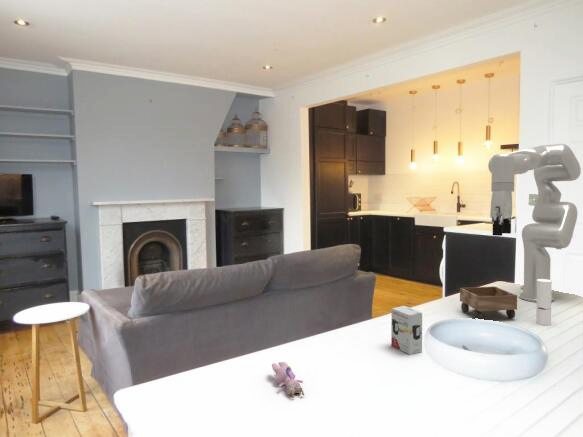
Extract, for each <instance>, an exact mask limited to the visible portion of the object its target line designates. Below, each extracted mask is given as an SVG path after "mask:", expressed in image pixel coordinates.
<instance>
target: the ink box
mask: <svg viewBox="0 0 583 437" xmlns="http://www.w3.org/2000/svg"><path fill="white" fill-rule="evenodd" d="M390 323H391V330H390V331H391V333H390V334H391V335H390V336H391V337H390V339H391V342H390V343H391V346H392V345H393V346H392V347H394V348H395V347H396V349H397V348H398V349H397V350H399V349H400V351H401V350H402V351H401V352H403V351H404V352H403V353H405V352H406V353H405V354H407V353H408V354H407V355H409V354H410V355H414V354H413V353H415V354H419V353H418V352H420V353H422V352H423V312H422V311H419V310H417V309H414V308H411V307H410V306H409V307H408V306H406V305H401V306H396V307H392V308H391V322H390Z"/></svg>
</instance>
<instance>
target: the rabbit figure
mask: <svg viewBox="0 0 583 437" xmlns="http://www.w3.org/2000/svg"><path fill="white" fill-rule="evenodd" d="M271 367H272V370H273V372H274V373H275V374H276V375H275V381H276V382H277V383H278V384H279V385H278V388H281V387H282V386H286V393H287V395H288V394H289V395H288V396H290V395H292V396H291V399H294V398H296V396H295V394H296V393H300V394H301V395H303V396H304V395H305V393H304V390H303V387H302V386H301V384H302V383H304V381H303V380H300V379H296V374H295V373H294V372H293V371H292V370H293V369H292V368H291V366H289V364H288V363H287V362H285V361H279V362H278V364H277V363H275V362H273V363H272V364H271Z"/></svg>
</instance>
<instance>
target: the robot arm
mask: <svg viewBox="0 0 583 437" xmlns="http://www.w3.org/2000/svg"><path fill="white" fill-rule="evenodd" d="M487 166H488V171H489V172H490V173H491V184H490V186H491V193H492V194H491V201H490V214H489V217H490V218H491V219H492V221H491V223H492V236H496V237H497V236H503V234H506V235H507V234H509V235H510V234H512V216H513V196H512V194H513V192H515V175H524V174H525V173H527V172H528V171H533V176H534V181H535V184H536V187H537V197H536V200H535V203H534V207H533V210H532V214H531V217H532V218H531V219H532V220H533V222H535V223H528V224H526V225H524V226H523V228H522V231H521V239H522V245H523V286H522V285H521V286H520V288H519V289H520V290H521V291H522V292H521V293H519V296H518V297H519V298H520V299H522V300H523V301H528V302H535V303H537V279H547V280H551V260H552V259H551V256H550V254H549V252H548V250H547V249H546V248H551V249H553V248H554V249H566V248H568V247H569V245H570V244H571V241H572V239H573V235H574V230H575V227H576V224H577V219H578V209H577V208H578V207H577V206H576V204H575V203H573V202H572V201H571V202H570V201H561V199H562V193H561V190H559V188H558V187H557V186H556V185H555V184H554V183H553V182H572V181H575V180H578V178H579V177H580V176H581V173H582V172H581V171H582V169H581V165H580V162H579V160H578V158H577V157H576V156H575V153H574V152H573V150H572V149H571V147H570V146H568V145H567V144H565V143H558V144H557V143H555V144H546V145H545V144H544V145H538V146H534V147H531V148H525V149H520V150H516V151H512V152H505V153H498V154H493V155H492V157H491V158H490V160H489V161H488V164H487ZM554 301H555V297H554V296H553V295H551V303H552V302H554Z"/></svg>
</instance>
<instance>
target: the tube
mask: <svg viewBox="0 0 583 437" xmlns="http://www.w3.org/2000/svg"><path fill="white" fill-rule="evenodd" d="M552 285H553V284H552V280H551V279H550V280H547V279H537V302H536V314H535V315H536V318H535V320H536V322H535V323H536V324H538V325H541V326H551V324H552V302H551V296H552Z"/></svg>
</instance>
